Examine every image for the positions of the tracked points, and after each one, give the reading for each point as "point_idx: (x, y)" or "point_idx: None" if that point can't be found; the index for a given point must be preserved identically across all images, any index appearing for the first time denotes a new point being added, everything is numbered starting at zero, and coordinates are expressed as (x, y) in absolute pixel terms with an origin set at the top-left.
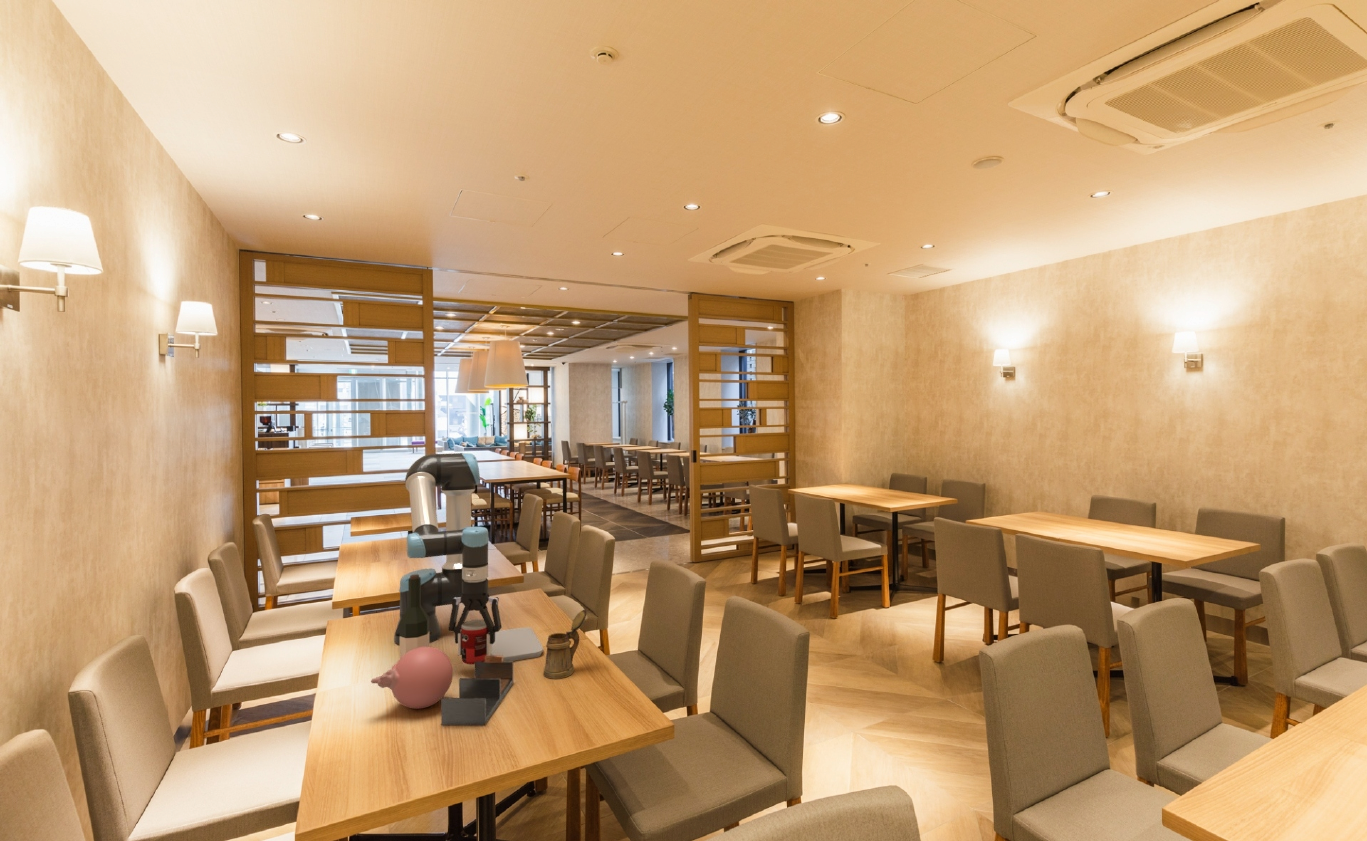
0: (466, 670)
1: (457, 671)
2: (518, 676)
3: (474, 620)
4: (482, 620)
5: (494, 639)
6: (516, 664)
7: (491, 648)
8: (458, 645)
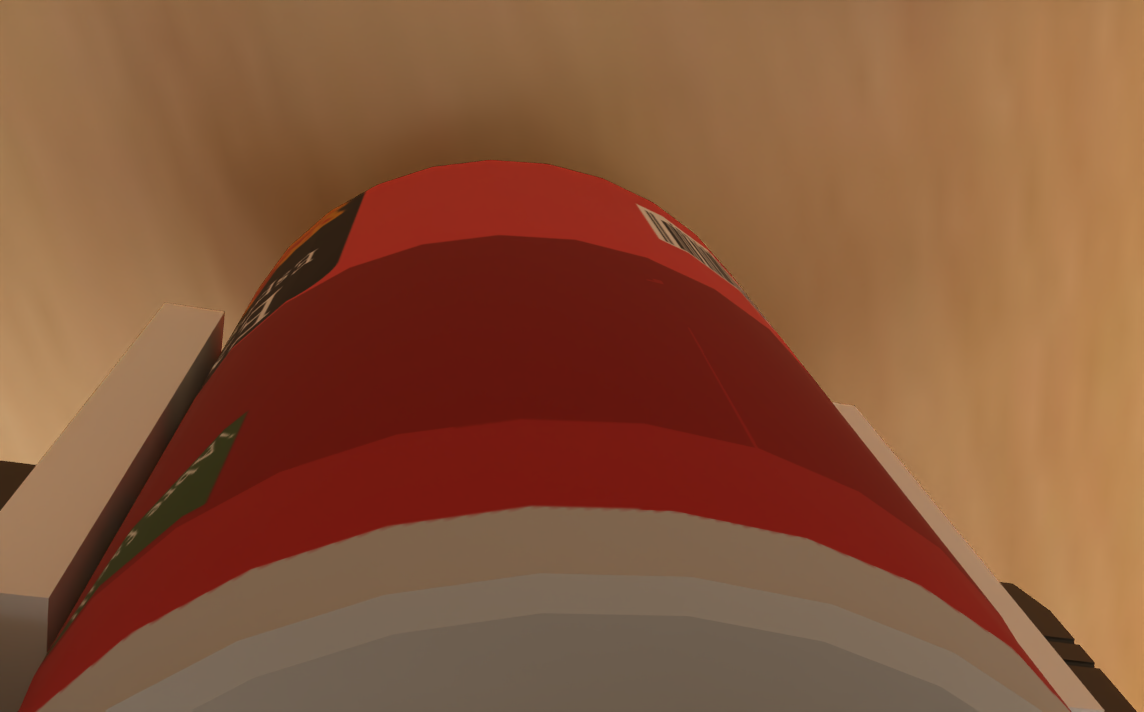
0: (328, 170)
1: (182, 188)
2: (1115, 505)
3: (432, 660)
4: (892, 704)
5: None
6: (1132, 51)
7: None
8: None
